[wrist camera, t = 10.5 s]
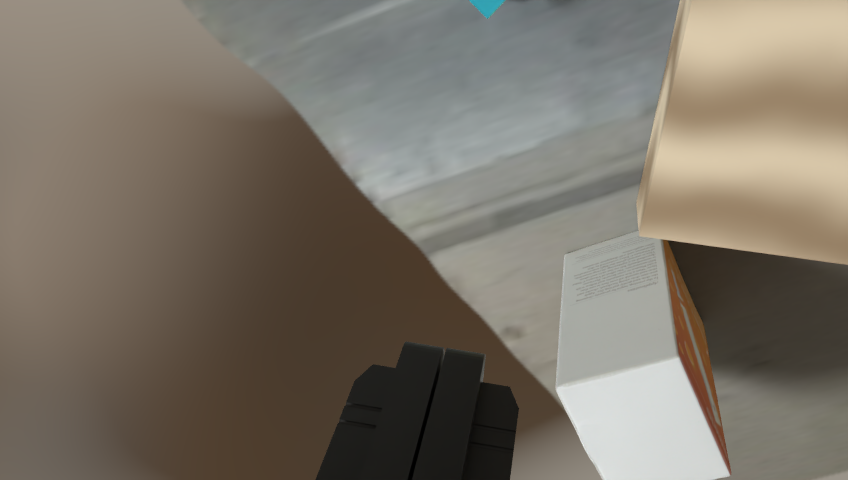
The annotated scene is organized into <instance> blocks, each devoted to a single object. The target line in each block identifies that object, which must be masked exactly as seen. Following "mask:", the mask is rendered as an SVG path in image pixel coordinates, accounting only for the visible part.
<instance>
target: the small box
mask: <svg viewBox="0 0 848 480" xmlns="http://www.w3.org/2000/svg"><path fill="white" fill-rule="evenodd" d="M556 391H557V393H558V395H559V398H560V400H561V402H562V404H563V406H564V408H565V410H566V412H567V414H568V416H569V418H570V420H571V422H572V424H573V426H574V427H575V429H576V431H577V434H578V436H579V438H580V440H581V443H582V445H583V447H584V449H585V450H586V452H587V454H588V456H589V458H590V459H591V461H592V462H593V464H594V465H595V467H596V469H597V471H598V472H599V474H600V476H601V478H602V480H714V479H717V478H723V477H728V476H730V475H731V469H730V464H729V459H728V454H727V449H726V444H725V439H724V433H723V428H722V422H721V417H720V411H719V406H718V400H717V395H716V390H715V385H714V379H713V374H712V369H711V363H710V358H709V351H708V345H707V340H706V334H705V329H704V324H703V322H702V320H701V318H700V316H699V314H698V312H697V310H696V307H695V305H694V303H693V301H692V298H691V296H690V294H689V291H688V289H687V287H686V284H685V282H684V280H683V277H682V275H681V273H680V270H679V268H678V265H677V263H676V260H675V258H674V255H673V253H672V250H671V248H670V245H669V243H668V240H663V239H656V238H649V237H642V236H639V230H638V231H635V232H632V233H629V234H626V235H623V236H620V237H617V238H614V239H610V240H607V241H604V242H601V243H597V244H595V245H592V246H588V247H585V248H582V249H580V250H577V251H574V252H570V253H568V254H565V255H564V269H563V285H562V300H561V314H560V329H559V344H558V360H557V375H556Z"/></svg>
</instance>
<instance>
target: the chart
mask: <svg viewBox="0 0 848 480" xmlns="http://www.w3.org/2000/svg"><path fill="white" fill-rule="evenodd" d="M469 1H470V2H471V3H472V4H473V5H474V6H475V7H476V8H477V9H478V10H479V11H480V12H481V13H482V14H483V15H484V16H485V17H486V18H487V19H488V18H489V17H490V16H491V15H492V14H493V13H494V12H495V11H496V10H497V9H498V8H499V7H500V6H501V5H502V3H503V2H504V1H505V0H469Z"/></svg>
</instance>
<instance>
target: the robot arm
mask: <svg viewBox="0 0 848 480" xmlns="http://www.w3.org/2000/svg"><path fill="white" fill-rule="evenodd" d="M484 365H485V354H481V353H475V352H468V351H462V350H456V349H450V348H447V349H446V352H445V355H444V348H443V347H436V346H430V345H424V344H417V343H411V342H405V343H404V346H403V348H402V351H401V354H400V357H399V360H398V363H397V366H396V368H391V367H385V366H380V365H372V366H371V367H370V368H368V370H366V371H365V372H364V373H363V374H362V375H361V376H360V377H359V378H357V379H356V380H355V381H354V384H353V386H352V389H351V392H350V394H349V397H348V399H347V402H346V406H345V407H344V409H343V412H342V414H341V417H340V421H339V423H338V424H337V427H336V429H335V432H334V434H333V437H332V439H331V442H330V444H329V447H328V450H327V452H326V455H325V457H324V460H323V462H322V465H321V467H320V470H319V472H318V475H317V478H316V480H510V474H511V466H512V458H513V450H514V442H515V434H516V426H517V418H518V410H519V408H518V406H517V404H516V401H515V398H514V396H513V394H512V391H511V389H510V387H508V386H502V385H496V384H490V383H484V382H482V381H483V374H484Z"/></svg>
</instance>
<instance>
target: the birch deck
mask: <svg viewBox="0 0 848 480" xmlns="http://www.w3.org/2000/svg"><path fill="white" fill-rule="evenodd" d="M636 203H637V215H638V227H639V236H642V237H649V238H656V239H663V240H671V241H678V242H685V243H693V244H700V245H707V246H714V247H722V248H729V249H736V250H744V251H751V252H758V253H766V254H773V255H780V256H787V257H795V258H802V259H809V260H817V261H824V262H831V263H838V264H846V265H848V0H680V3H679V8H678V13H677V17H676V22H675V26H674V31H673V36H672V40H671V45H670V50H669V54H668V59H667V63H666V68H665V73H664V77H663V82H662V87H661V91H660V96H659V100H658V105H657V110H656V114H655V119H654V124H653V128H652V133H651V137H650V142H649V147H648V151H647V156H646V161H645V165H644V170H643V174H642V179H641V184H640V188H639V193H638V198H637V202H636Z"/></svg>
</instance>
